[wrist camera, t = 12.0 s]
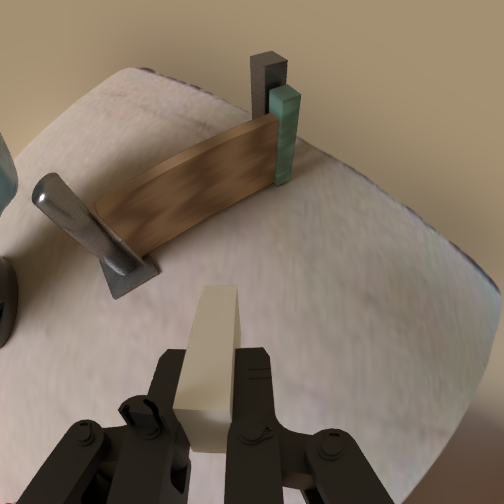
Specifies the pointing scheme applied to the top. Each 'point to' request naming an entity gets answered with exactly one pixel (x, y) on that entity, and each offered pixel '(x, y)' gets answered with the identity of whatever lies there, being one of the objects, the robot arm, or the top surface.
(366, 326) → the top surface
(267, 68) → the post
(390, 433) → the top surface
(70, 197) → the hinge post
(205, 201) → the wooden board
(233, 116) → the top surface
